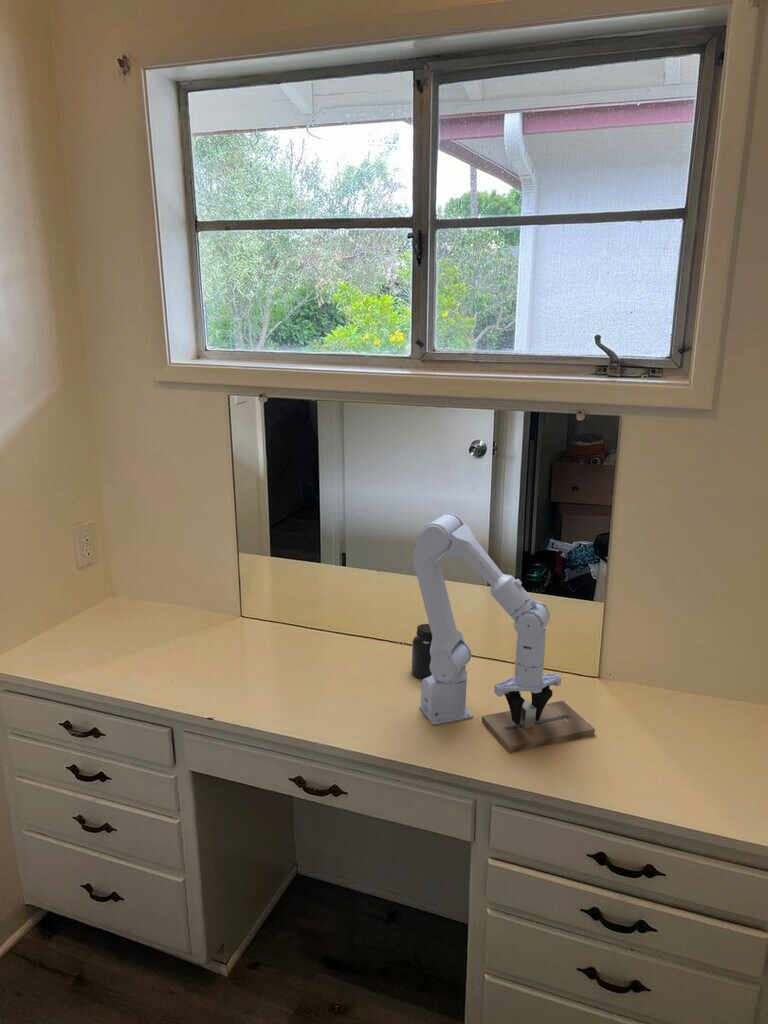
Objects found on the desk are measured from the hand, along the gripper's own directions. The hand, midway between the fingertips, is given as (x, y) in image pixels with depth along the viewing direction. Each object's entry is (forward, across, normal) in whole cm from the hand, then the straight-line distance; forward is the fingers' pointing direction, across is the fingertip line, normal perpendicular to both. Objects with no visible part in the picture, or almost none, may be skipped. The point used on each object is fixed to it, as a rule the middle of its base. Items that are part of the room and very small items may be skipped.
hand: (525, 720), depth 155 cm
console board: (+3, +3, 0) cm, 4 cm away
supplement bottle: (+3, -10, +30) cm, 32 cm away
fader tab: (+1, 0, 0) cm, 1 cm away
